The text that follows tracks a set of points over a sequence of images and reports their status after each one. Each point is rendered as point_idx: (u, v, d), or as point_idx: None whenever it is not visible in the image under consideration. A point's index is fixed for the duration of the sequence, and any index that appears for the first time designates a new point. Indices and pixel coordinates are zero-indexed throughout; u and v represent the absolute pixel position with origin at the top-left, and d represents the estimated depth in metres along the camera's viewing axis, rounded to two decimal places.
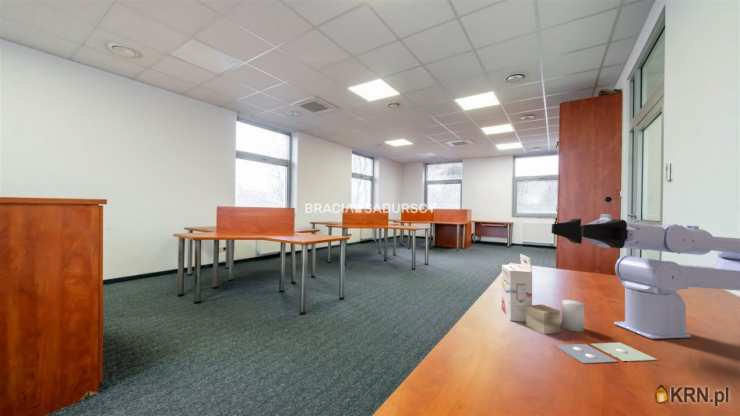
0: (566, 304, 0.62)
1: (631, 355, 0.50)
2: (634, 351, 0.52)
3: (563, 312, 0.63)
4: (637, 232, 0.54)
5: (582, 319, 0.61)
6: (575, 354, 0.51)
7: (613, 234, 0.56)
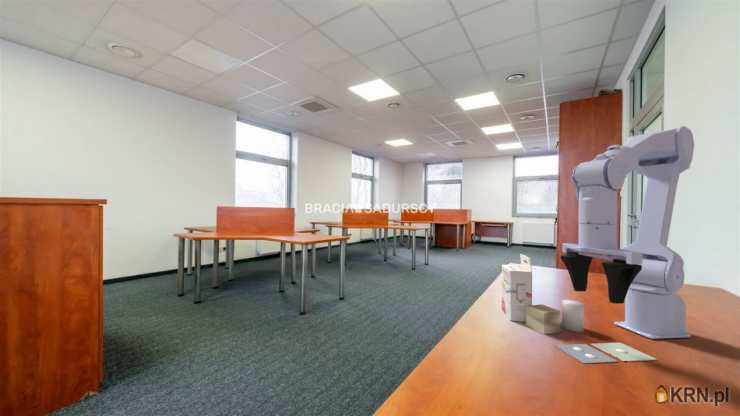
0: (566, 304, 0.62)
1: (631, 355, 0.50)
2: (634, 351, 0.52)
3: (563, 312, 0.63)
4: (634, 259, 0.47)
5: (582, 319, 0.61)
6: (575, 354, 0.51)
7: None
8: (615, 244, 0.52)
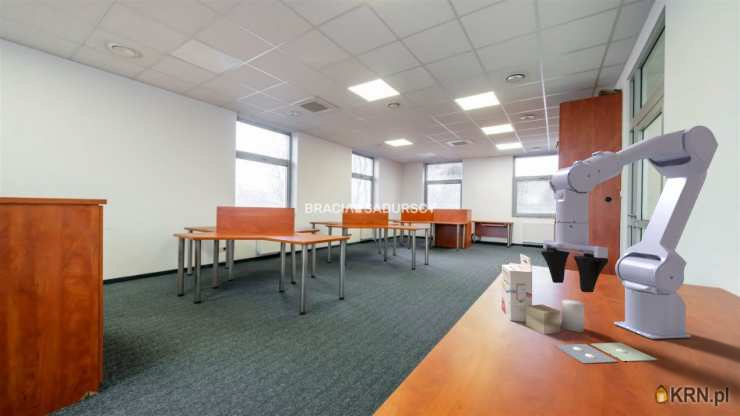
0: (566, 304, 0.62)
1: (631, 355, 0.50)
2: (634, 351, 0.52)
3: (563, 312, 0.63)
4: (600, 253, 0.54)
5: (582, 319, 0.61)
6: (575, 354, 0.51)
7: None
8: (586, 240, 0.59)
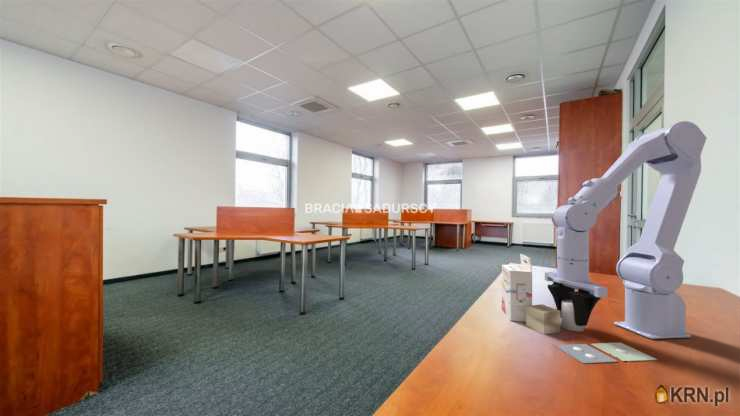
0: (566, 304, 0.62)
1: (631, 355, 0.50)
2: (634, 351, 0.52)
3: (563, 312, 0.63)
4: (600, 293, 0.56)
5: None
6: (575, 354, 0.51)
7: None
8: (587, 277, 0.61)
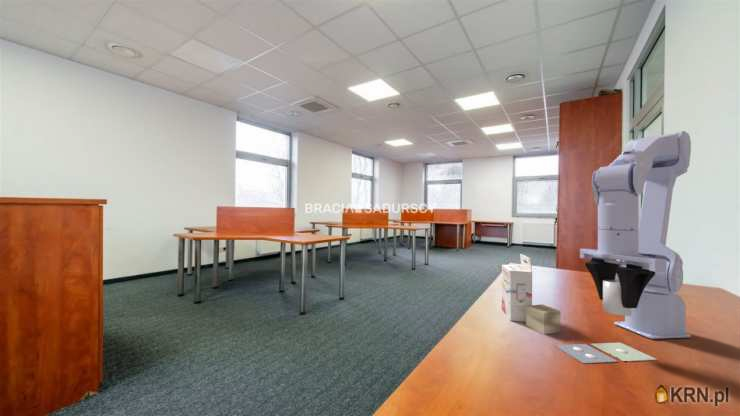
0: (610, 283, 0.52)
1: (631, 355, 0.50)
2: (634, 351, 0.52)
3: (606, 293, 0.53)
4: (658, 266, 0.46)
5: None
6: (575, 354, 0.51)
7: None
8: (637, 250, 0.51)
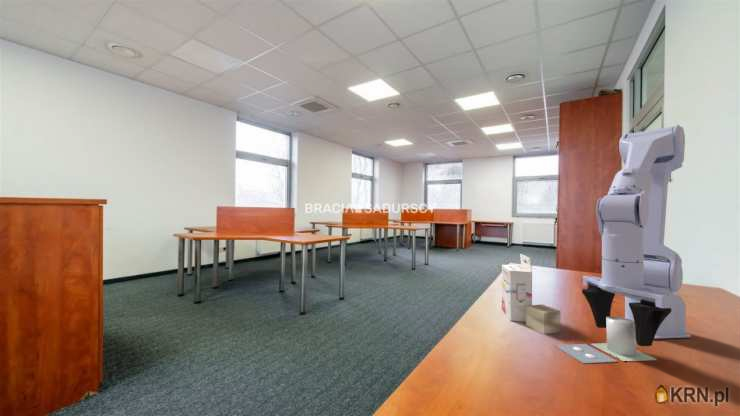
0: (613, 322, 0.51)
1: None
2: None
3: (609, 332, 0.52)
4: (664, 303, 0.45)
5: (634, 340, 0.50)
6: (575, 354, 0.51)
7: None
8: (642, 283, 0.50)
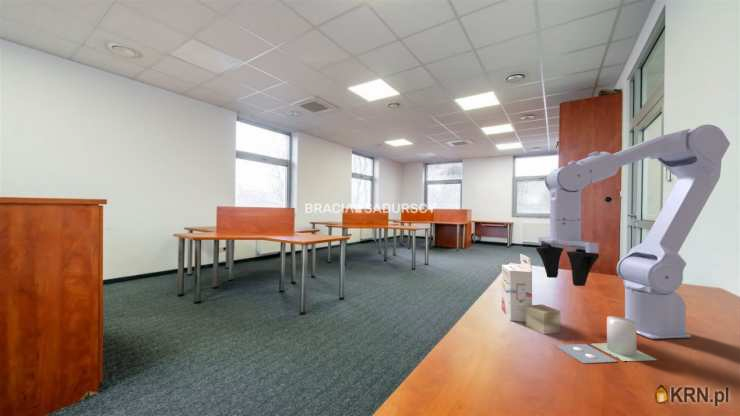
0: (614, 322, 0.51)
1: None
2: None
3: (610, 332, 0.52)
4: (591, 248, 0.57)
5: (635, 341, 0.50)
6: (575, 354, 0.51)
7: None
8: (579, 237, 0.62)
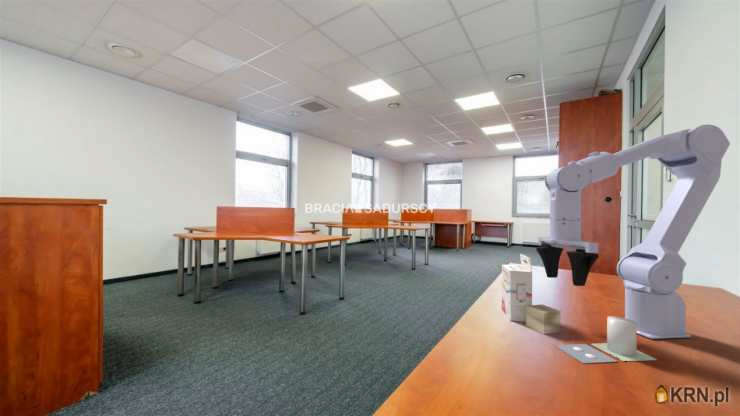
0: (615, 322, 0.51)
1: None
2: None
3: (610, 332, 0.52)
4: (591, 248, 0.57)
5: (635, 341, 0.50)
6: (575, 354, 0.51)
7: None
8: (578, 237, 0.62)
